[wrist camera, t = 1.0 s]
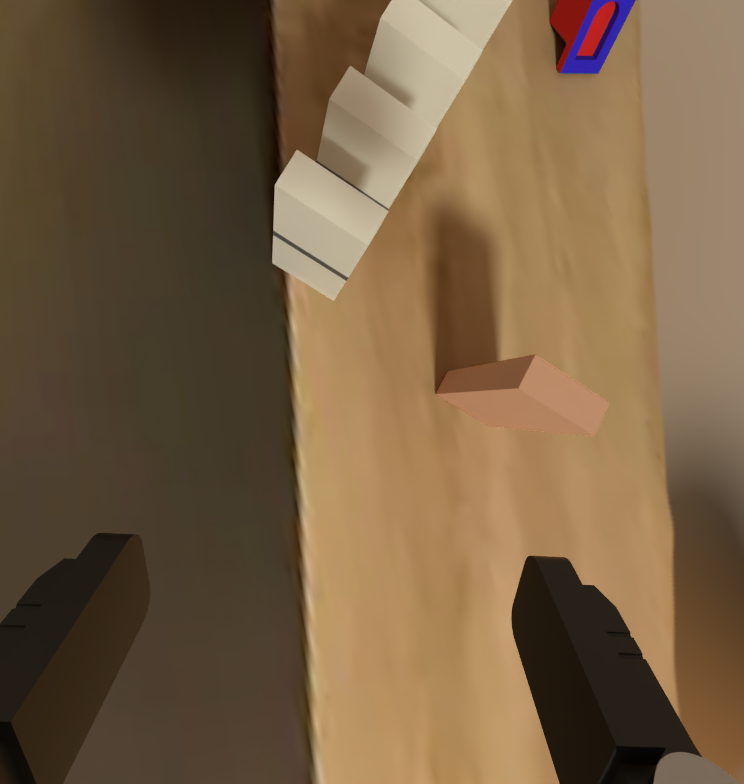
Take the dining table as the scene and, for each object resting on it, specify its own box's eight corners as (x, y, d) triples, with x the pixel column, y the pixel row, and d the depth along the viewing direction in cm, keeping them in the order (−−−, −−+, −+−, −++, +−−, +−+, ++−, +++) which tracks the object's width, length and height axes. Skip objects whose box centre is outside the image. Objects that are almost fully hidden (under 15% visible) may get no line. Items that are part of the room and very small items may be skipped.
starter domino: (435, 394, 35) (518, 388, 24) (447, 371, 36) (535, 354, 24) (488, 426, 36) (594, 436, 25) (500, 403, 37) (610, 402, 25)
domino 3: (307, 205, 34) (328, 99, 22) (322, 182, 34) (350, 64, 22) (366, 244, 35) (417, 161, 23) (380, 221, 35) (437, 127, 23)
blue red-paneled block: (576, 46, 41) (632, -79, 34) (598, 73, 39) (662, -52, 32) (540, 45, 40) (589, -82, 33) (560, 73, 38) (617, -56, 31)
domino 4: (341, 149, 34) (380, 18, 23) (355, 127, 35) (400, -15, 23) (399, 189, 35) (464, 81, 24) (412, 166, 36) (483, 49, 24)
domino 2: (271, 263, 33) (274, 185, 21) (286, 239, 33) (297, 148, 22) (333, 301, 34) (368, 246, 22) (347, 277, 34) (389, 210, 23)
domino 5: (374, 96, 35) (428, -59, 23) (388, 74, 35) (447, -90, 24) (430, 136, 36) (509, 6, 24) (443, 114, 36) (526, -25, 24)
